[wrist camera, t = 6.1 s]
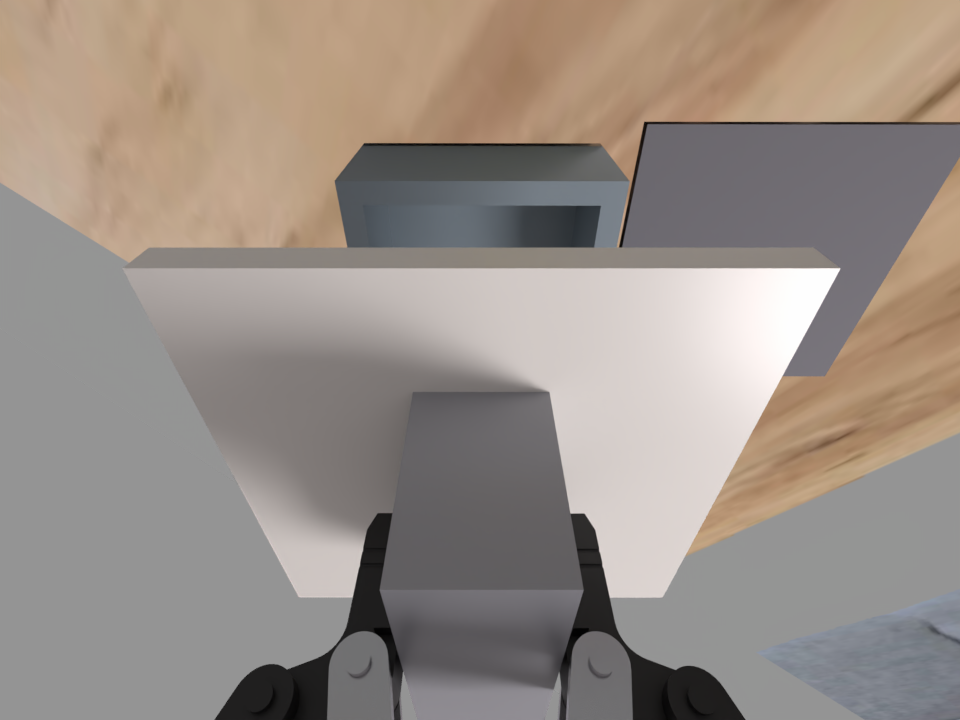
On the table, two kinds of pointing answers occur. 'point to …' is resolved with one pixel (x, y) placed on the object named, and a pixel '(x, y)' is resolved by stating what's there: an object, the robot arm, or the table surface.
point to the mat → (793, 201)
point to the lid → (481, 424)
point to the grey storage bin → (482, 196)
